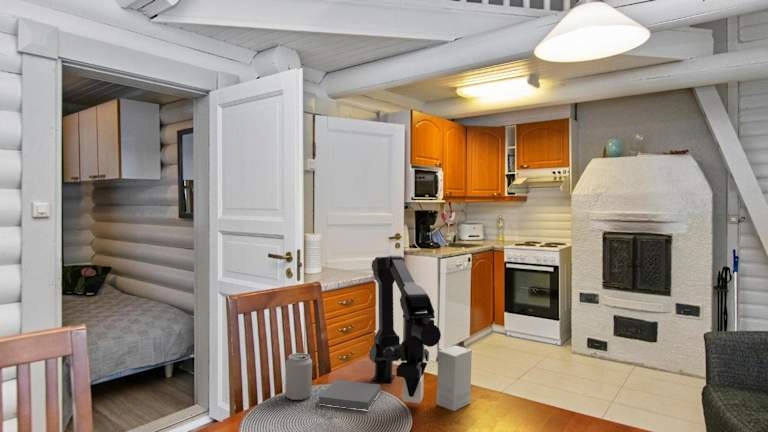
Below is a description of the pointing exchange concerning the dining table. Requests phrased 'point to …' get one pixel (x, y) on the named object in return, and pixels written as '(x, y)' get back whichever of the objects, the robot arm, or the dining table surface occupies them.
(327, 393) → the base board
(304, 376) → the can
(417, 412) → the dining table surface
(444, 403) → the skincare box
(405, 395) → the block
